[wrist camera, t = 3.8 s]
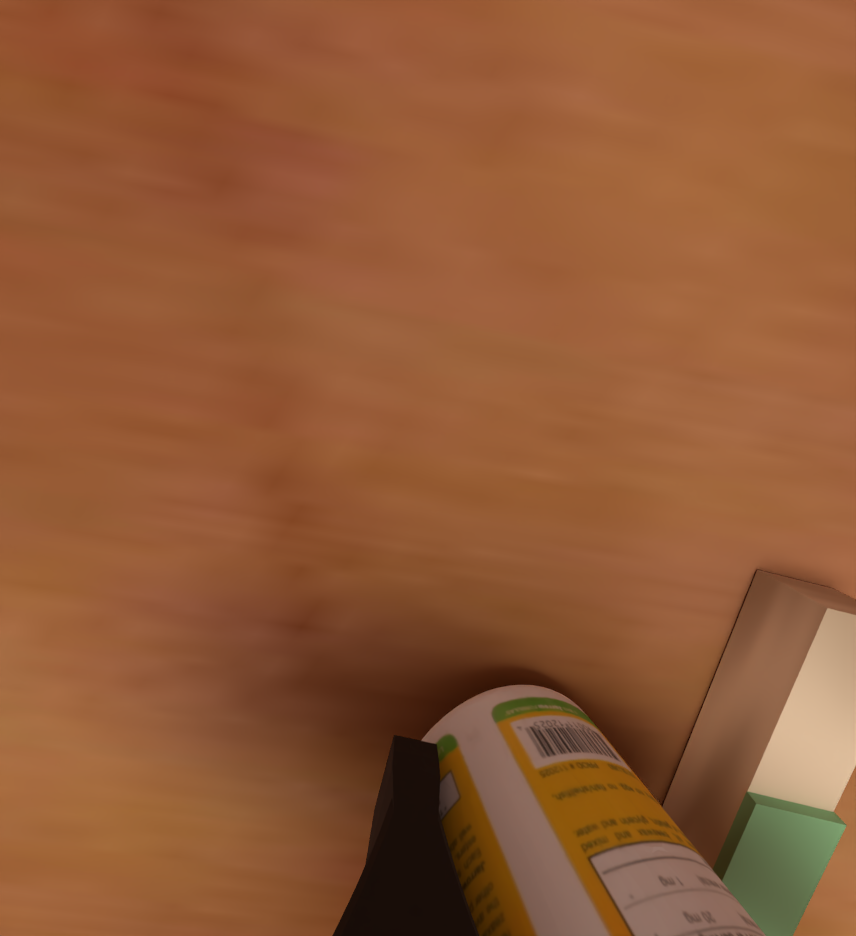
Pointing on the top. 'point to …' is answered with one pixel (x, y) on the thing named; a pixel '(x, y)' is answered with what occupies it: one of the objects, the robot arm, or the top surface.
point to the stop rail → (773, 749)
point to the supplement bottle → (565, 828)
